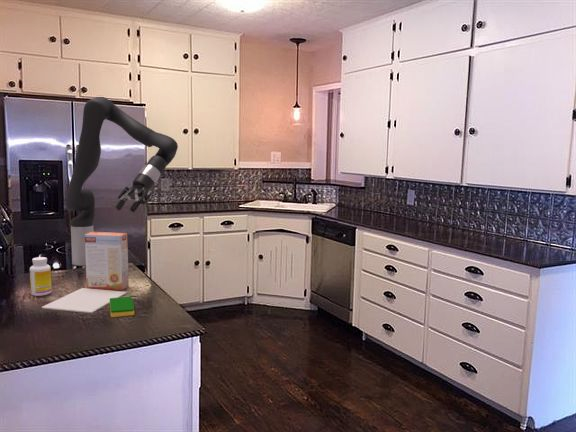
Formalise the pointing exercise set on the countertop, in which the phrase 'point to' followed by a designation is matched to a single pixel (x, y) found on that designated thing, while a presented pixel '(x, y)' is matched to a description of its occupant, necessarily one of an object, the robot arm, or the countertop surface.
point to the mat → (84, 300)
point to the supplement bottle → (40, 277)
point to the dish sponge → (121, 306)
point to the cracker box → (106, 260)
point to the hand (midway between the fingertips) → (124, 210)
